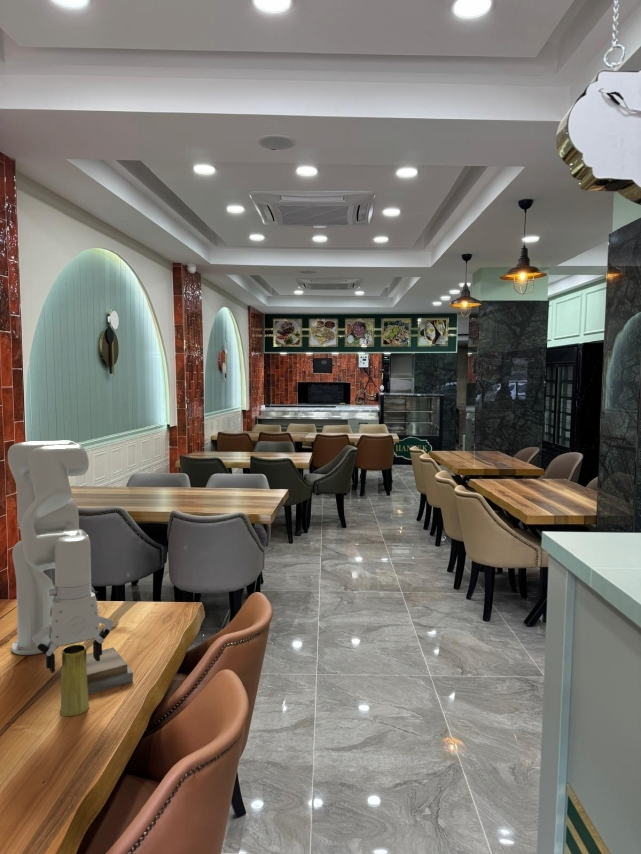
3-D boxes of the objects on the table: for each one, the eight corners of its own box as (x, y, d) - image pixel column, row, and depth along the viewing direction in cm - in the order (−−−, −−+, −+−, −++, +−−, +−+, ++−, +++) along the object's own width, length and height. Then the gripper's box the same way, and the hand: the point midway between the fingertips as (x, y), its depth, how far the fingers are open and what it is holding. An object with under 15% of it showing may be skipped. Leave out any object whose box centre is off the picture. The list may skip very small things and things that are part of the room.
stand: (61, 675, 146) (60, 658, 146) (116, 661, 155) (116, 645, 154) (74, 698, 135) (73, 680, 135) (132, 682, 143) (132, 664, 143)
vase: (70, 719, 126) (70, 657, 126) (54, 711, 129) (53, 650, 129) (94, 707, 131) (93, 647, 131) (78, 699, 135) (77, 641, 134)
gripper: (34, 602, 121) (36, 681, 121) (117, 587, 131) (118, 660, 132) (28, 593, 127) (29, 669, 127) (107, 580, 137) (108, 649, 138)
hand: (74, 664), depth 130 cm, fingers open, 9 cm apart
